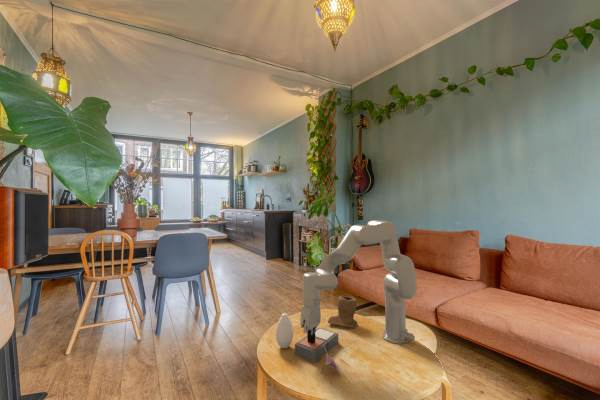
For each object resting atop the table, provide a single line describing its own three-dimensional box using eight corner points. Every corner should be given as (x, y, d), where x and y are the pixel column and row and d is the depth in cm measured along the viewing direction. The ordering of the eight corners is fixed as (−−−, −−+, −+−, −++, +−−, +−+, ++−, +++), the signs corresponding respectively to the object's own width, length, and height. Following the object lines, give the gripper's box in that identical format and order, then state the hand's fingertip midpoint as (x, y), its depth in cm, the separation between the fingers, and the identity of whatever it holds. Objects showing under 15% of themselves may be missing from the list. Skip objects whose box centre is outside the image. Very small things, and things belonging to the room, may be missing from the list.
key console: (338, 343, 132) (338, 333, 132) (315, 362, 116) (315, 352, 116) (319, 336, 138) (318, 327, 138) (294, 354, 122) (294, 344, 122)
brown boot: (359, 322, 155) (359, 295, 155) (354, 331, 144) (354, 302, 144) (333, 317, 161) (333, 291, 161) (327, 326, 150) (327, 298, 150)
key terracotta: (324, 346, 124) (324, 341, 124) (314, 354, 118) (314, 348, 118) (308, 341, 129) (308, 336, 129) (298, 348, 122) (298, 342, 123)
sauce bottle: (282, 341, 134) (281, 304, 134) (296, 345, 130) (295, 307, 130) (272, 349, 127) (272, 310, 127) (287, 353, 123) (287, 313, 123)
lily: (336, 389, 101) (347, 363, 103) (308, 370, 105) (319, 345, 107) (338, 379, 112) (348, 356, 114) (313, 363, 116) (323, 341, 118)
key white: (334, 338, 131) (334, 333, 131) (326, 345, 125) (326, 339, 125) (319, 333, 136) (319, 328, 136) (310, 340, 130) (310, 334, 130)
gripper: (313, 294, 132) (313, 333, 131) (294, 304, 120) (294, 346, 119) (327, 298, 127) (327, 337, 127) (308, 308, 115) (308, 352, 115)
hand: (311, 342), depth 123 cm, fingers closed
